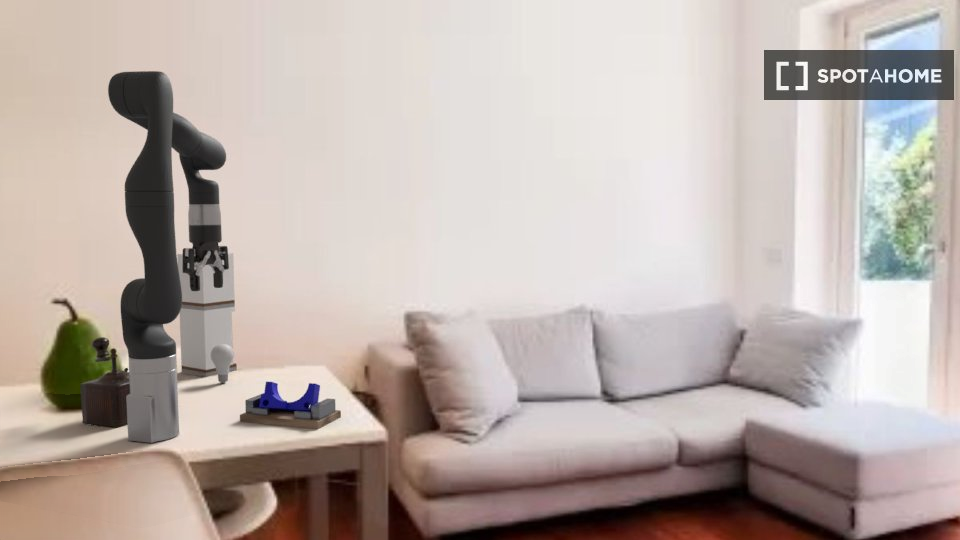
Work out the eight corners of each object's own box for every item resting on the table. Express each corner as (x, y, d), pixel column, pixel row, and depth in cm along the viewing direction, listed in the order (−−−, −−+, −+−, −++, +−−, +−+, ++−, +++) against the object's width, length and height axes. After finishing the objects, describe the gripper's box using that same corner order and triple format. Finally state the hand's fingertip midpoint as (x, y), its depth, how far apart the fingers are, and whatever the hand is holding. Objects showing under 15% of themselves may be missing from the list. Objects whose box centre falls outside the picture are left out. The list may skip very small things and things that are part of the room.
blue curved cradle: (259, 407, 171) (263, 380, 172) (268, 409, 175) (271, 383, 177) (309, 409, 168) (312, 382, 170) (316, 411, 173) (320, 385, 174)
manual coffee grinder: (154, 415, 176) (151, 339, 174) (115, 428, 165) (112, 347, 164) (104, 409, 181) (101, 335, 180) (64, 421, 171) (60, 343, 170)
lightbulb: (210, 382, 210) (209, 343, 209) (233, 380, 213) (232, 341, 212) (212, 386, 205) (211, 346, 204) (236, 384, 207) (235, 344, 206)
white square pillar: (236, 370, 226) (233, 253, 223) (206, 377, 217) (202, 255, 214) (212, 366, 232) (208, 252, 229) (181, 372, 223) (177, 254, 220)
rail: (318, 428, 164) (317, 408, 164) (240, 421, 170) (239, 401, 170) (340, 417, 174) (340, 397, 173) (265, 410, 180) (265, 391, 180)
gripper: (198, 223, 177) (200, 292, 178) (236, 222, 191) (238, 287, 192) (171, 223, 180) (174, 291, 181) (211, 222, 193) (213, 286, 194)
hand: (207, 289), depth 186 cm, fingers open, 8 cm apart
